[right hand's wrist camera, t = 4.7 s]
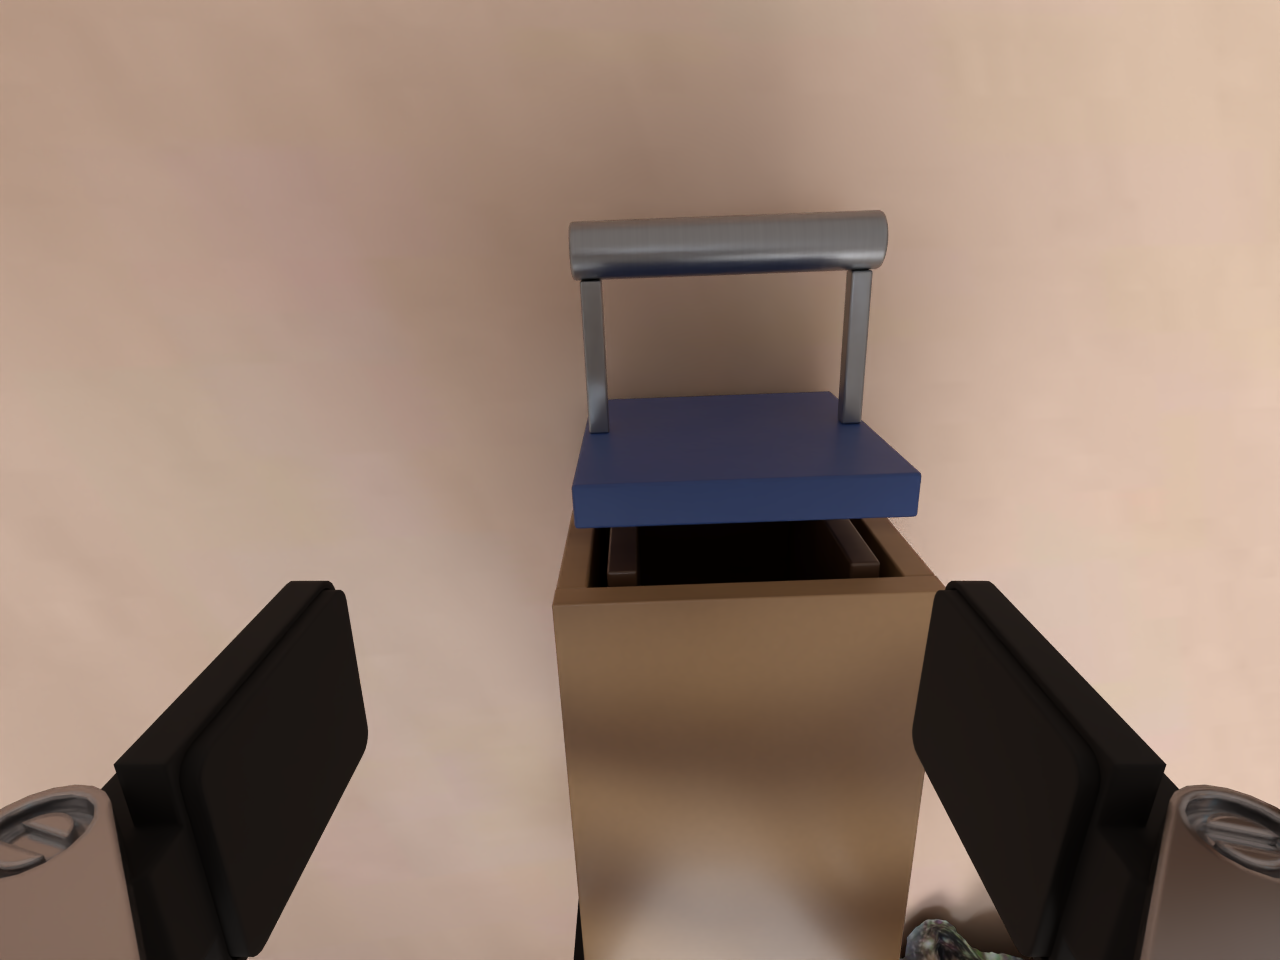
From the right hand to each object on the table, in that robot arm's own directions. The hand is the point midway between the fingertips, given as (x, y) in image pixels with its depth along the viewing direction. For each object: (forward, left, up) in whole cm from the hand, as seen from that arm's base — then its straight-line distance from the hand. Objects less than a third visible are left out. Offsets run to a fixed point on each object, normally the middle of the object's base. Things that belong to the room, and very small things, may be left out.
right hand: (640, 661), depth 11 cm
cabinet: (+13, 0, -16) cm, 21 cm away
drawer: (+7, +1, -15) cm, 17 cm away
